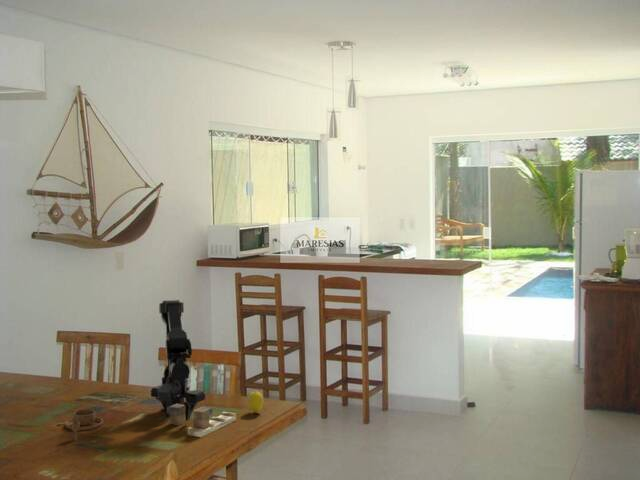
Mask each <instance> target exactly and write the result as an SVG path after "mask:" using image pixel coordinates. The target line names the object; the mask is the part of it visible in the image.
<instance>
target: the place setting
mask: <svg viewBox="0 0 640 480" xmlns="http://www.w3.org/2000/svg"><path fill="white" fill-rule="evenodd" d="M72 414H73V415H72V416H73V418H70V419H68V420H66V421H63V422H59V423H58V424H57V425H58V426H63V425H65V427H66V428H67V429H68V430H70V431H72V432H73V433H74V435H73V437H74V439H73V440H74V441H77V440H78V432H79V431H89V430H93V429H98V428H100V427H101V426H102V425H103V423H104V419H103V418H101V417H97V416H96V411H95V410H92V409H79V410H76V411H74V412H73V413H72ZM94 422H97V424H94V425H92V424H93V423H94ZM98 422H99V423H98Z"/></svg>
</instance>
